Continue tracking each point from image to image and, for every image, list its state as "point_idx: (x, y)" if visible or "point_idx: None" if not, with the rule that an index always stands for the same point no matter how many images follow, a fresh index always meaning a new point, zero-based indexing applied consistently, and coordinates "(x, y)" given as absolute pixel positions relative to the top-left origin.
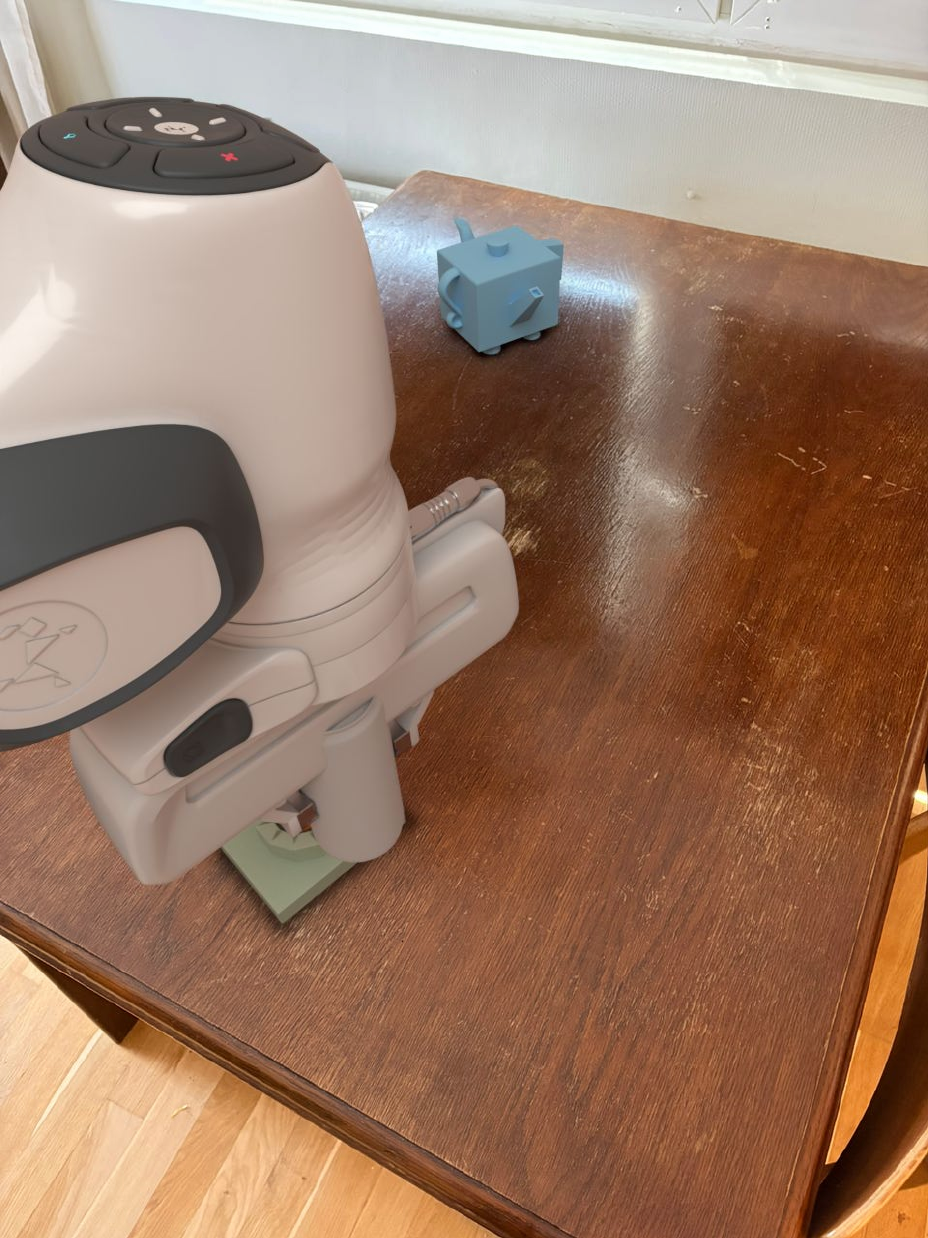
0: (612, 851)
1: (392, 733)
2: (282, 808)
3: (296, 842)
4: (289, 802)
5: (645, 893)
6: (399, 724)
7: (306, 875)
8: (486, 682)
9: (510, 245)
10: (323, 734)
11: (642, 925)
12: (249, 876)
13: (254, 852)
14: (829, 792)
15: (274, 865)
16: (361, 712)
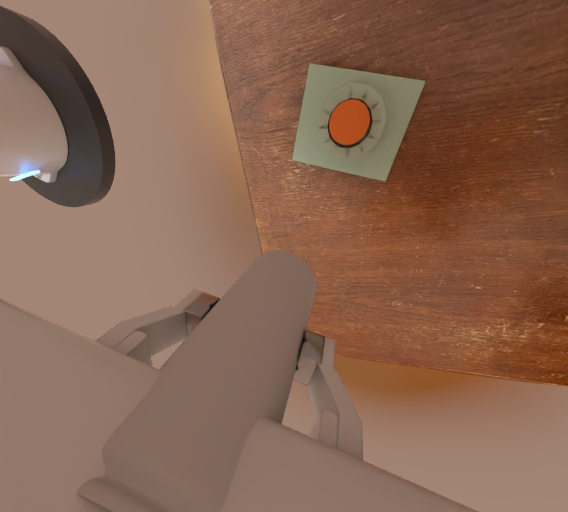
0: (415, 282)
1: (298, 375)
2: (159, 349)
3: (325, 144)
4: (185, 327)
5: (398, 300)
6: (311, 379)
7: (318, 157)
8: (540, 156)
9: None
10: None
11: (382, 302)
12: (299, 126)
13: (312, 115)
14: (496, 356)
15: (312, 134)
16: None
